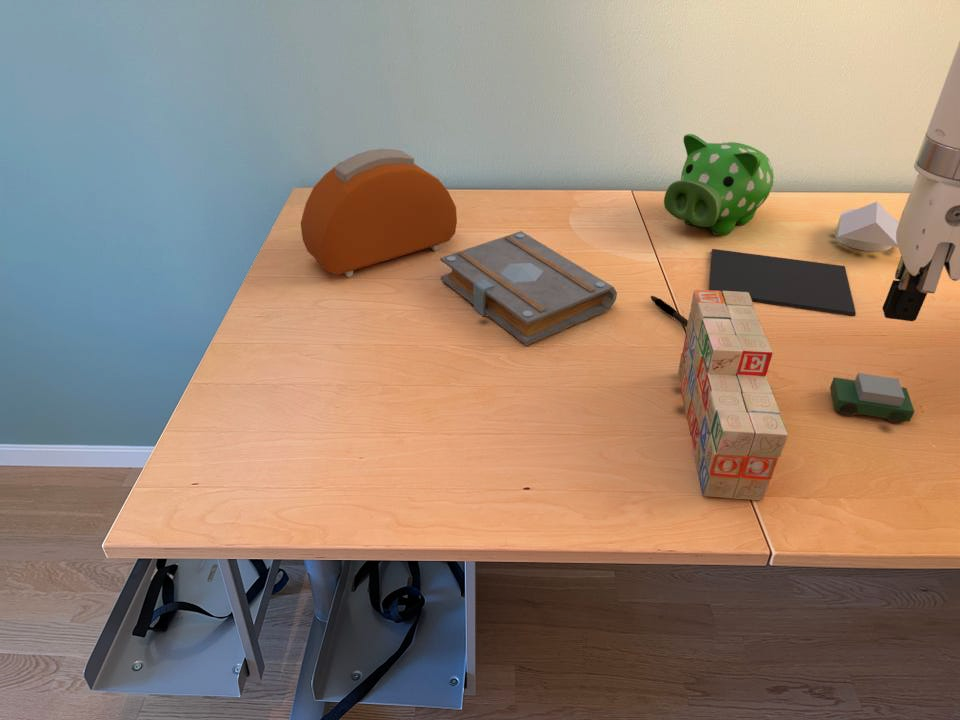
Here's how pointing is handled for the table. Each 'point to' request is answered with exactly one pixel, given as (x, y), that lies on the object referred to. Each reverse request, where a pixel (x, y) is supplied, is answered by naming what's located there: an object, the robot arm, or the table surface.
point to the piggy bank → (719, 185)
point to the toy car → (872, 397)
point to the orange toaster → (375, 212)
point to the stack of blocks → (730, 396)
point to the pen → (669, 310)
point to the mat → (783, 281)
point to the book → (527, 286)
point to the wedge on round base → (867, 228)
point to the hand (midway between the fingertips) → (898, 315)
